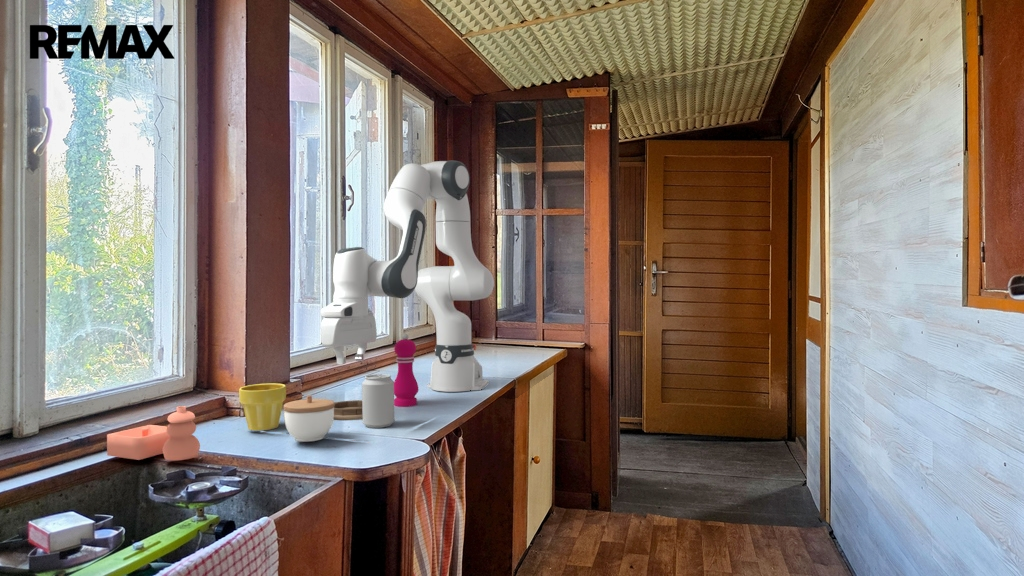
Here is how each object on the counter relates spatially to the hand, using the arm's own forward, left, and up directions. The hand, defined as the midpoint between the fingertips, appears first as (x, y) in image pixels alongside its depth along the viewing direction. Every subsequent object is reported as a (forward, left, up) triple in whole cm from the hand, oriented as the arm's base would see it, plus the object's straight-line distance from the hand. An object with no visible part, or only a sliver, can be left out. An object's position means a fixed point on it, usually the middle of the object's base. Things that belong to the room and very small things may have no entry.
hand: (350, 362), depth 164 cm
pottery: (+45, -15, -14) cm, 49 cm away
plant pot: (+20, -11, -14) cm, 27 cm away
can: (+9, +14, -14) cm, 21 cm away
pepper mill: (-16, +7, -14) cm, 22 cm away
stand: (0, 0, -14) cm, 14 cm away
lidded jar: (+25, +6, -14) cm, 29 cm away
